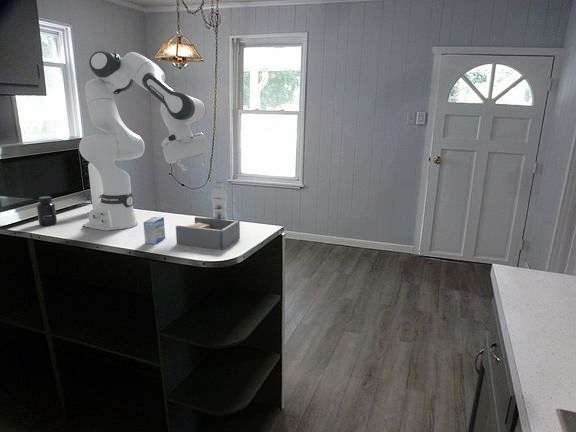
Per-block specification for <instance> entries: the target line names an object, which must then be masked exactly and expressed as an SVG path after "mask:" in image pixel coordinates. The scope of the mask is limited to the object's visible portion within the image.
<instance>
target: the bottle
mask: <svg viewBox="0 0 576 432" xmlns="http://www.w3.org/2000/svg"><path fill="white" fill-rule="evenodd" d="M87 167H88V168H87V169H88V176H89V177H88V178H89V188H90V196H91V205H92V209H93V208H94V207H96V206H97V205H98V204H99V203H100V201H101V198H99V197H100V196H99V195H102V194H103V186H102V180H101V176H100V174H99V172H98V170H97V169H96V167H95V166H94V165H93V164H92V163H90V162H88V165H87Z"/></svg>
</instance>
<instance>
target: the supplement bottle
mask: <svg viewBox="0 0 576 432" xmlns="http://www.w3.org/2000/svg"><path fill="white" fill-rule="evenodd" d="M38 202H39V203H38V204H37V206H36V210H37V219H38V225H39V226H41V227H51V226H55V225H56V224H57V223H58V219H57V210H56V204H55V203H54V202H53V199H52V196H48V195H47V196H40V197H38Z"/></svg>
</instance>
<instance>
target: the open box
mask: <svg viewBox="0 0 576 432" xmlns="http://www.w3.org/2000/svg"><path fill="white" fill-rule="evenodd" d="M196 223H203V224H208V225H210V229H207V228H197V227H187V226H188V225H175V235H176V245H180V246H187V247H197V248H206V249H215V250H225V249H227V247H229V246H230V245H232V244H233V243H234V242H237V240H239V239H240V238H241V232H240V229H241V228H240V226H241V222H240V220H233V219H228V220H225V219H215V218H213V217H212V218H211V217H205V216H204V217H203V216H195V217H194V224H196Z"/></svg>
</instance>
